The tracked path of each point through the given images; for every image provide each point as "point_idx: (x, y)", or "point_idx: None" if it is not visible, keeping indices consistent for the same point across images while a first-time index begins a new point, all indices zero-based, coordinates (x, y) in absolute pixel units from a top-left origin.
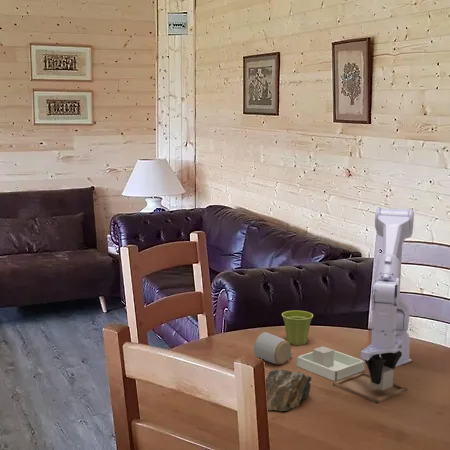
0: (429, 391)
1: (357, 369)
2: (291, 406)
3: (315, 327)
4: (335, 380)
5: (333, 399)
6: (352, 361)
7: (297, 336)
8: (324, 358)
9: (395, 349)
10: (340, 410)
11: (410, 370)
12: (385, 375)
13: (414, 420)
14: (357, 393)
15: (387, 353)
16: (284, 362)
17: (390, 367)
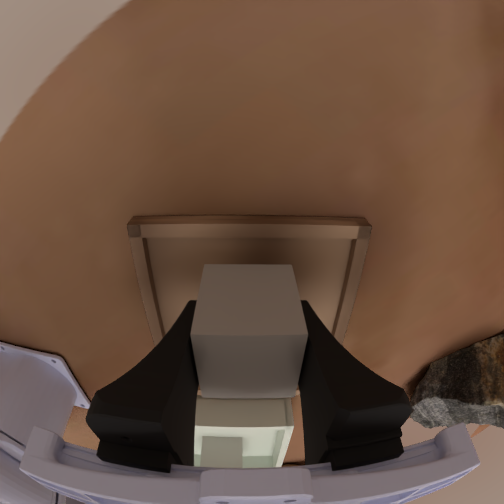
0: (50, 163)
1: None
2: (499, 339)
3: None
4: (289, 400)
5: (409, 331)
6: None
7: None
8: (240, 462)
9: (255, 502)
10: (468, 270)
11: (17, 316)
12: (280, 318)
13: (384, 13)
14: (348, 316)
15: (182, 449)
16: (283, 466)
17: (189, 355)
